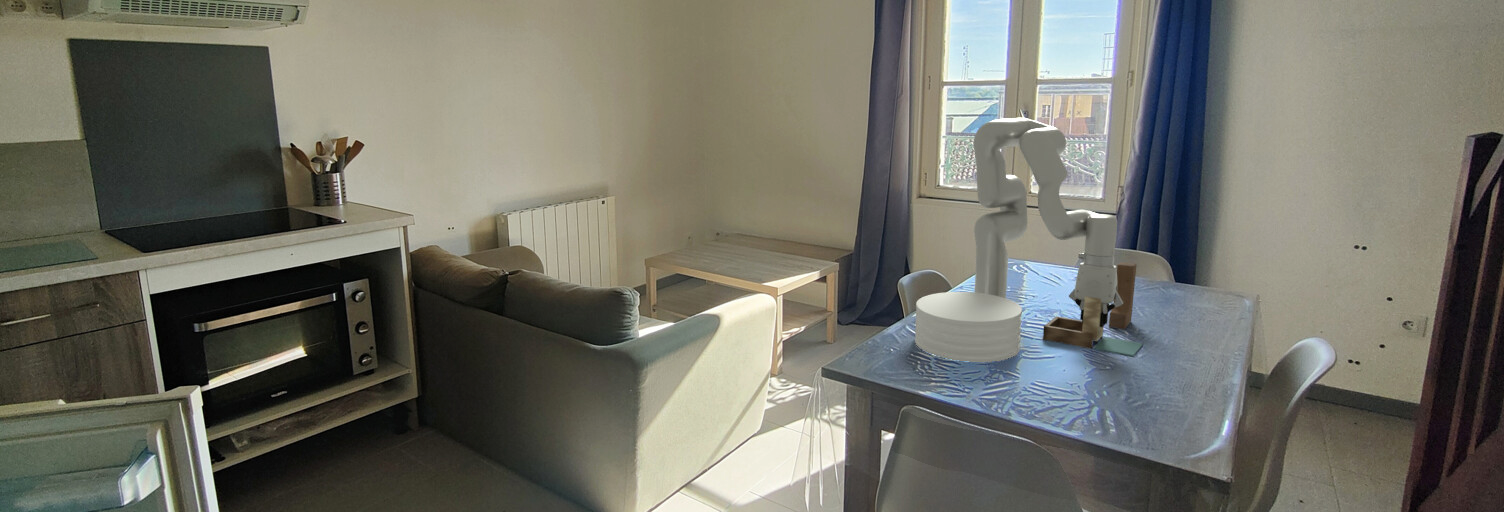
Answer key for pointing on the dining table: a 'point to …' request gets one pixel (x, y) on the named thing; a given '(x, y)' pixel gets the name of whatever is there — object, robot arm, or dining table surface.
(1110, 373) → the dining table surface
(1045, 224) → the robot arm
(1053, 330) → the crate
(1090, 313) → the birch block
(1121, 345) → the mat
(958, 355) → the plate stack
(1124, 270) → the wooden block
